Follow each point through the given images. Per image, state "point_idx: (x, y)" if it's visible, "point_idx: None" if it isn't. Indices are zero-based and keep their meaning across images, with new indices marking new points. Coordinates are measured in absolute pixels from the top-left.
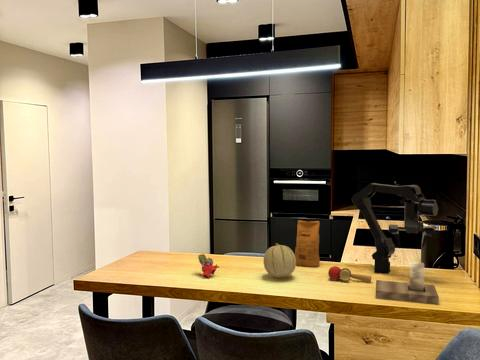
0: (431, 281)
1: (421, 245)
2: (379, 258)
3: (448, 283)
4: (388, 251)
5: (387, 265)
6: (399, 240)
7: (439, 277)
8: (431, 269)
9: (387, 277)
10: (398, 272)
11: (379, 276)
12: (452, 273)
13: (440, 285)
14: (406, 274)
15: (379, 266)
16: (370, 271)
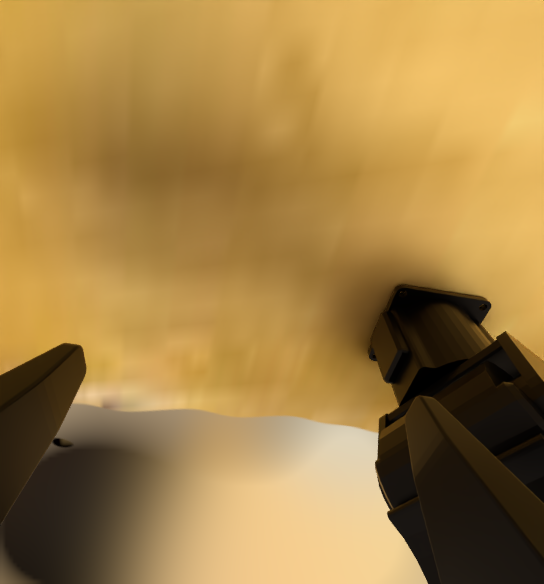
0: (128, 146)
1: (53, 432)
2: (532, 357)
3: (3, 108)
4: (514, 394)
5: (414, 336)
6: (531, 546)
7: (76, 254)
8: (121, 389)
9: (438, 207)
10: (317, 325)
11: (489, 225)
12: (10, 337)
13: (58, 27)
14: (277, 292)
15: (474, 327)
16: (494, 327)
